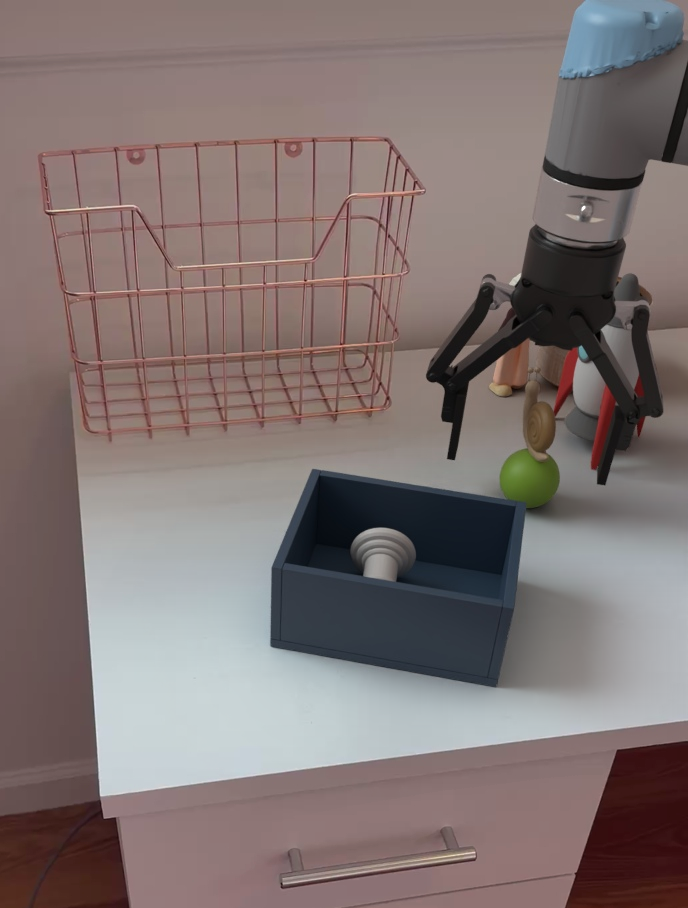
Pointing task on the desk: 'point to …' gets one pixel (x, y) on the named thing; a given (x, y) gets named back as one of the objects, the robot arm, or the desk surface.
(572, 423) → the toy
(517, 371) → the grandmother figurine
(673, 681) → the desk surface
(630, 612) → the desk surface
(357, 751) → the desk surface
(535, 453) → the snail figurine
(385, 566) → the chess piece
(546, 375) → the planter
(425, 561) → the tote
